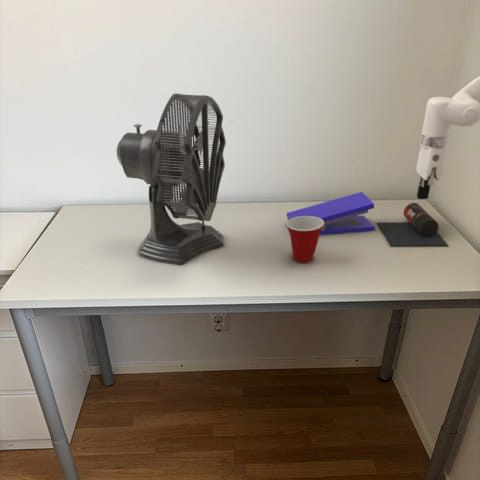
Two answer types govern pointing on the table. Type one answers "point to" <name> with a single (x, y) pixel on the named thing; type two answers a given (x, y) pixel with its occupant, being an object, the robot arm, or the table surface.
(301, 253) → the plastic cup
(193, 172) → the desk fan
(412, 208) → the deodorant
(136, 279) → the table surface
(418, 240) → the mat
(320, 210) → the stapler
